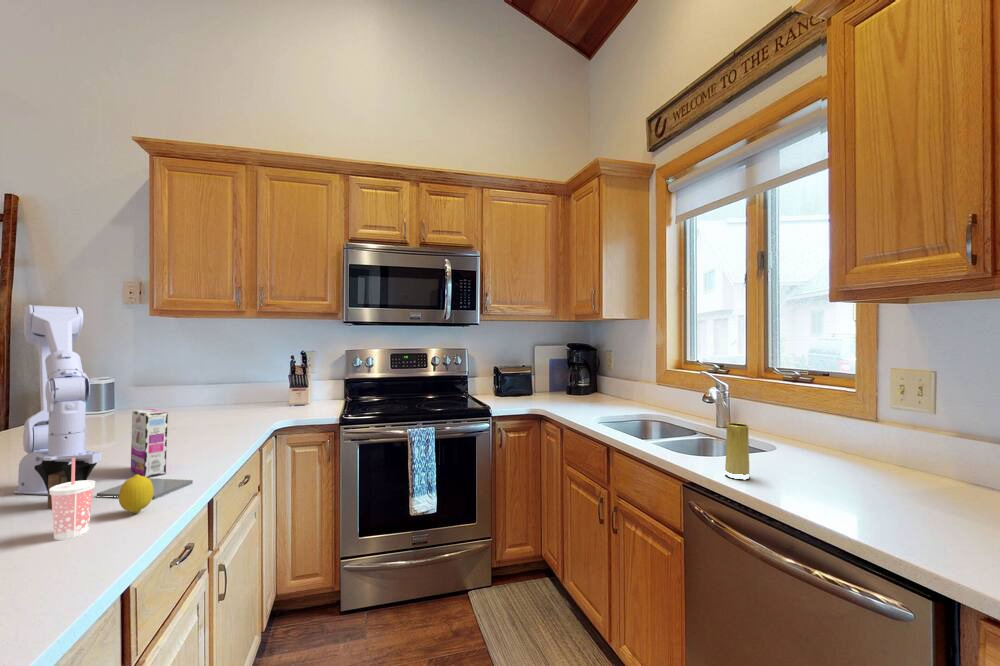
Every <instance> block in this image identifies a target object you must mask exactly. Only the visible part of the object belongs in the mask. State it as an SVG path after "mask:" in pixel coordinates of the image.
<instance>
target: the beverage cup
mask: <svg viewBox="0 0 1000 666" xmlns="http://www.w3.org/2000/svg"><path fill="white" fill-rule="evenodd" d="M95 486H96V481H95V480H91V479H90V480H89V479H87V480H81V481H75V458H72V471H71V482H67V483H63V484H59V485H56V486H53V487H51V488H50V489H49V492H50V495H51V497H52V509H51V510H52V511H51V512H52V527H53V539H54V540H57V541H62V540H63V541H65V540H71V539H75V538H77V537H76V536H79V535H81V534H83V533H86V532H87V531H88V530H89V531H90V521H91V520H90V519H91V512H92V504H93V503H92V502H93V492H94V488H95ZM89 531H88V532H89ZM88 532H87V533H88ZM87 533H86V534H87ZM81 536H82V535H81ZM74 537H75V538H74ZM79 537H80V536H79ZM70 538H71V539H70Z"/></svg>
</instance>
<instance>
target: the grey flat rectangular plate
mask: <svg viewBox="0 0 1000 666" xmlns="http://www.w3.org/2000/svg"><path fill="white" fill-rule="evenodd" d="M147 478H148V479H150V480H151V482H152V485H153V489H154V493H153V498H152V500H156V499H158V497H159V498H160V497H163V495H164V496H166V495H169V494H171V493H173V492H176V491H178V490H180V489H182V488H185V487H187V486H190V485H192V484H193V482H194V481H193V480H192V479H172V478H152V477H147ZM123 484H124V483H122V484H120V485H117V486H114V487H111V488H108V489H106V490H103V491H100V492H96V497H97V496H113V497H114V496H116V497H117V496H118V497H119V492H120V489H121V487H122V485H123ZM170 492H171V493H170ZM165 494H166V495H165Z"/></svg>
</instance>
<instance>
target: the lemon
mask: <svg viewBox="0 0 1000 666" xmlns="http://www.w3.org/2000/svg"><path fill="white" fill-rule="evenodd" d="M148 478H149V477H145V476H140V475H139V474H135V475H133V476H131V477H130V478H128V479H127V480H126V481H124V482H123V483H122V484H123V485H122V484H121V485H122V487H121V489H120V492H119V498H118V501H119V505H120V506H121V508H122V509H123V510H124V511H127V512H131V513H133V514H134V513H136V514H138V513H139V512H140V511H142V510H143V509H146V508H147V507H148V505H150V503H151V501H153V499H152V498H153V493H154V489H153V485H152V482H151V480H150V479H148ZM137 512H138V513H137Z"/></svg>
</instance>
